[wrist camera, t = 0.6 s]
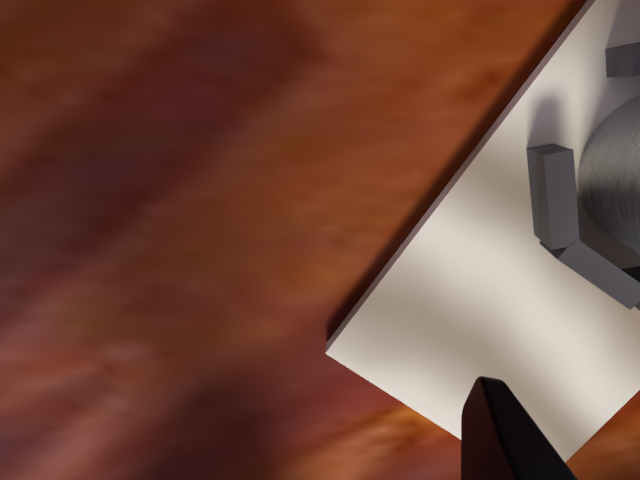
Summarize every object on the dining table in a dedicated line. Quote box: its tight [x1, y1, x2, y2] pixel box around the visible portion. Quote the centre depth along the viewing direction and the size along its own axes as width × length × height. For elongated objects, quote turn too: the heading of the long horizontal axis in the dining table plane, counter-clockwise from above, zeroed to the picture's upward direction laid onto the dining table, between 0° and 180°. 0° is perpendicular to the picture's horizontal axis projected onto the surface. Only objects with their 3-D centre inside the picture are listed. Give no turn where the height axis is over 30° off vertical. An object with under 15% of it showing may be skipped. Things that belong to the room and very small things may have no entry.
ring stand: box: [325, 0, 640, 462], centre depth 21 cm, size 19×12×3 cm, turn 146°
